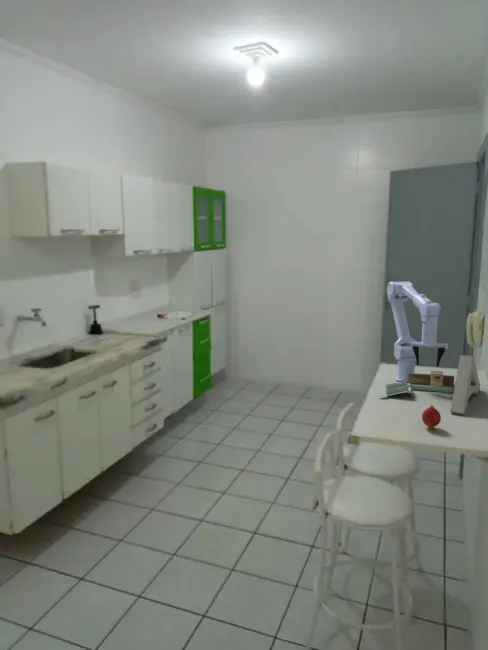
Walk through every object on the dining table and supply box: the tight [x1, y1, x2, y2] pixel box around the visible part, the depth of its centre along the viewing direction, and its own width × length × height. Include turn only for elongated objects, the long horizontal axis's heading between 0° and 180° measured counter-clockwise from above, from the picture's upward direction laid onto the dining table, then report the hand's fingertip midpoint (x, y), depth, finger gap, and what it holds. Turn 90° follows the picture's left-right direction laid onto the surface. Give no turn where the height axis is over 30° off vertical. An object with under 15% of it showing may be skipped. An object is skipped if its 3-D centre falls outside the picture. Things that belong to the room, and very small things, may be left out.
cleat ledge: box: [412, 384, 454, 394], centre depth 212 cm, size 7×16×2 cm, turn 73°
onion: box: [421, 405, 442, 429], centre depth 167 cm, size 6×6×8 cm
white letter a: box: [450, 354, 481, 416], centre depth 195 cm, size 22×4×30 cm
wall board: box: [407, 372, 455, 389], centre depth 215 cm, size 2×18×5 cm, turn 73°
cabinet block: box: [430, 370, 444, 387], centre depth 211 cm, size 6×4×6 cm
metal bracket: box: [378, 381, 415, 400], centre depth 205 cm, size 14×6×15 cm
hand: (427, 365), depth 209 cm, fingers open, 7 cm apart
